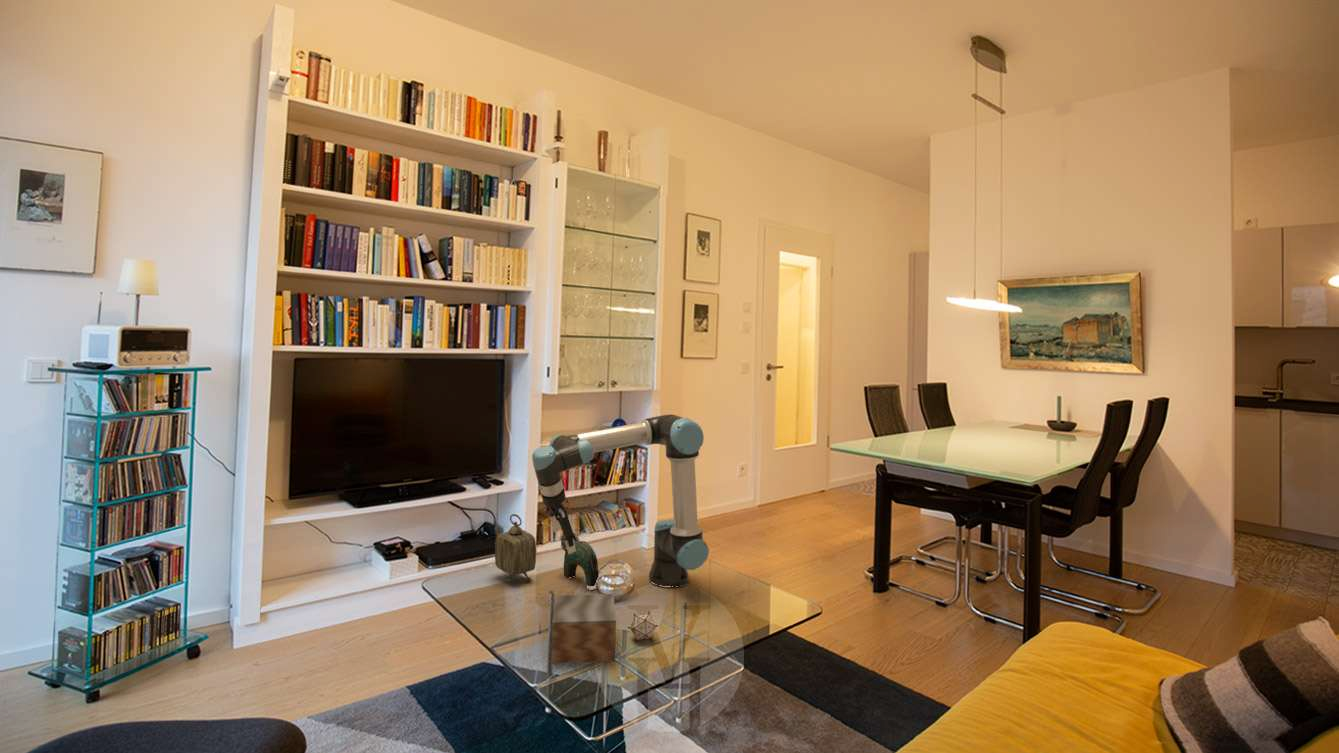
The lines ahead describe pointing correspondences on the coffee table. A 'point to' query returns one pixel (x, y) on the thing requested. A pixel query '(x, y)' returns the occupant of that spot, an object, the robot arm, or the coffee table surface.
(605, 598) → the walnut crate
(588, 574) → the green elephant figurine
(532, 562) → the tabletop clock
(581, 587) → the coffee table surface
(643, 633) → the geometric polyhedron ornament
